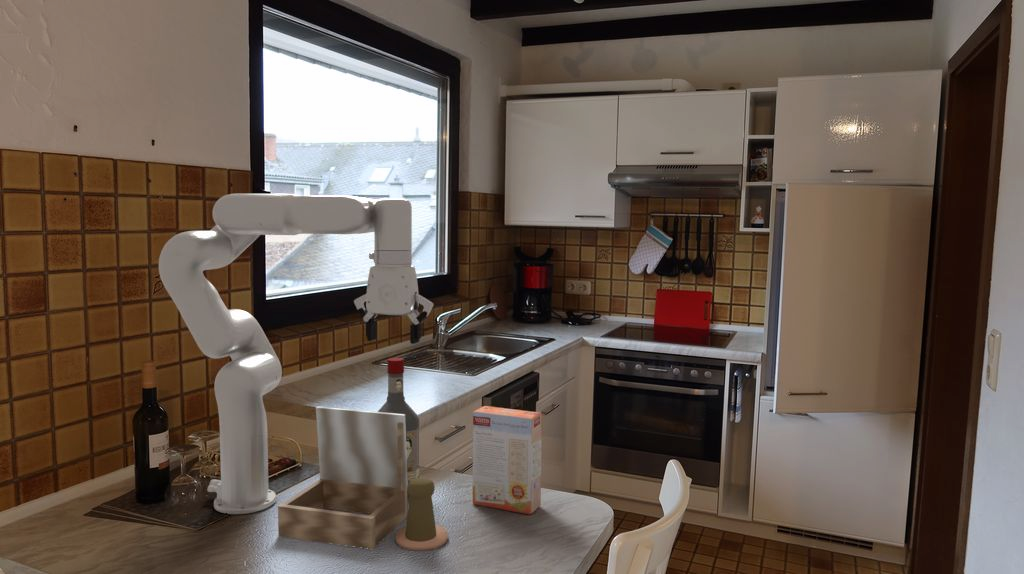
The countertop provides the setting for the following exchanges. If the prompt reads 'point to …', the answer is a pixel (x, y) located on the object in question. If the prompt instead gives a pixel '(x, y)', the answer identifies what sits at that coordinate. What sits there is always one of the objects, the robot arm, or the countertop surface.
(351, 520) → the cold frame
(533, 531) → the countertop surface
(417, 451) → the liquor
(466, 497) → the countertop surface
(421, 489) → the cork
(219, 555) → the countertop surface
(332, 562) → the countertop surface
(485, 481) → the cracker box
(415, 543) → the peach flat disc
